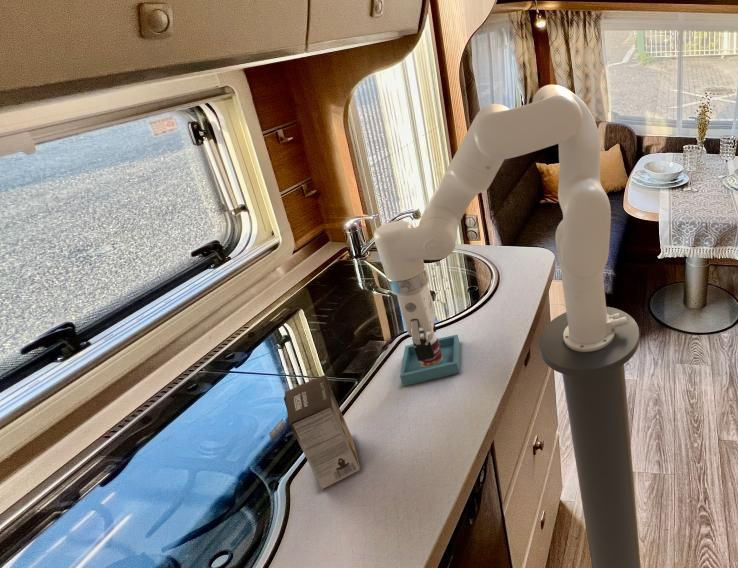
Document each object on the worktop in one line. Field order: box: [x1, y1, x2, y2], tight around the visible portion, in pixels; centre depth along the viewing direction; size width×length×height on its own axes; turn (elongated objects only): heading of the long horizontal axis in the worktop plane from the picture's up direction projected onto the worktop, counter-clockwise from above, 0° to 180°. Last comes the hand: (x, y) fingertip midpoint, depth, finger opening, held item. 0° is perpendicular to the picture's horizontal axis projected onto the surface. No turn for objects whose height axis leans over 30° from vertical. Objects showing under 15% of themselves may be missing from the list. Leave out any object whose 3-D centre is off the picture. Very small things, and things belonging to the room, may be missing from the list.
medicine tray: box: [399, 334, 461, 387], centre depth 112 cm, size 12×11×3 cm
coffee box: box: [284, 374, 361, 490], centre depth 87 cm, size 9×6×16 cm
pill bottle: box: [419, 328, 443, 368], centre depth 111 cm, size 5×5×8 cm
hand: (427, 345), depth 111 cm, fingers open, 8 cm apart
